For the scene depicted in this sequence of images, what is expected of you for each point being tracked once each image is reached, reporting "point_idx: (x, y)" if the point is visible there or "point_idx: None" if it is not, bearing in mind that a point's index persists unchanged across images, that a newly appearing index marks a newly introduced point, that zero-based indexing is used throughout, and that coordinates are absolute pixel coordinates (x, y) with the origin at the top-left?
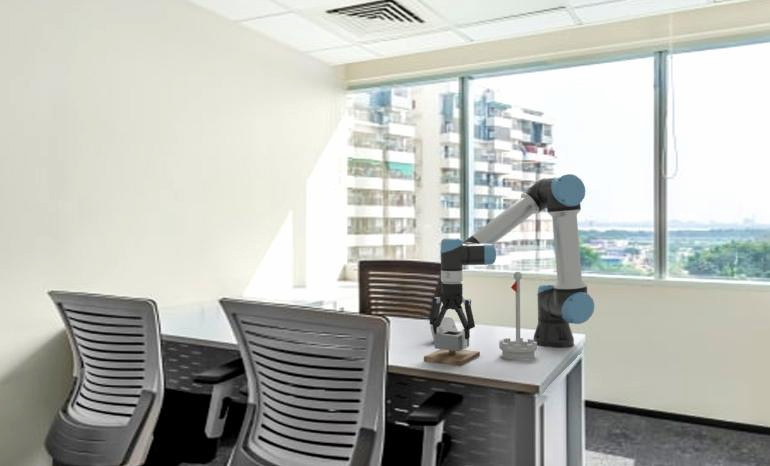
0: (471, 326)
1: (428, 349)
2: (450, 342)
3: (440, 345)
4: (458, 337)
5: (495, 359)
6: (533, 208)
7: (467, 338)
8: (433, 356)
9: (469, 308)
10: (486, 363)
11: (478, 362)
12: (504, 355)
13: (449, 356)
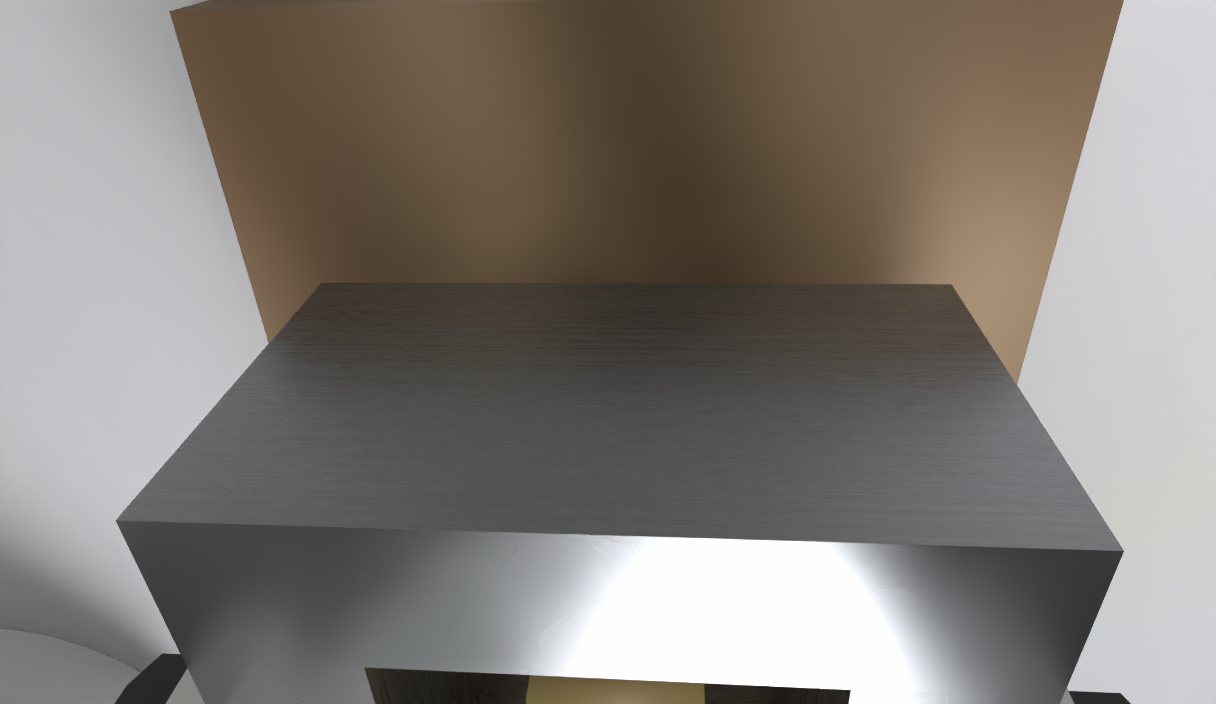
0: None
1: (1180, 674)
2: (479, 389)
3: (797, 328)
4: (132, 503)
5: (132, 569)
6: None
7: (153, 671)
8: (899, 112)
9: None
10: (54, 355)
11: (176, 355)
12: (100, 683)
13: (594, 269)
